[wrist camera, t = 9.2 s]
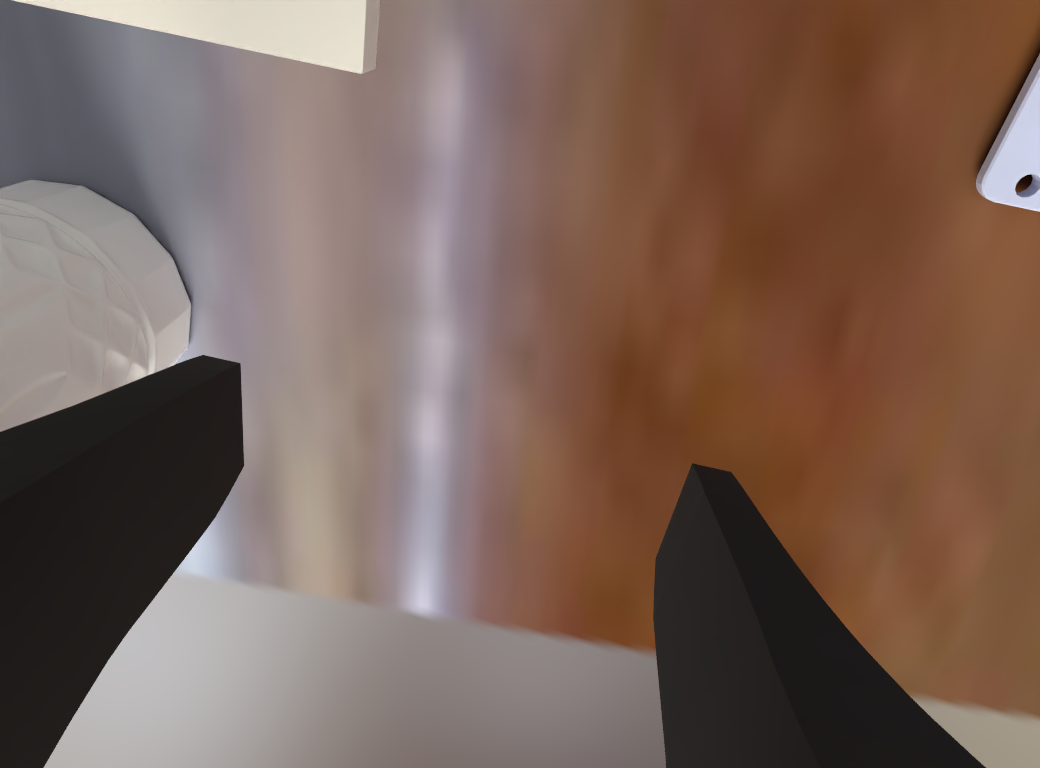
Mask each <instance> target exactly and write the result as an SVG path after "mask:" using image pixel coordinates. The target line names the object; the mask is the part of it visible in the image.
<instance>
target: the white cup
mask: <svg viewBox="0 0 1040 768" xmlns="http://www.w3.org/2000/svg"><path fill="white" fill-rule="evenodd" d="M190 318H191V303H190V300H189V298H188V295H187V292H186V290H185V287H184V285H183V282H182V280H181V277H180V275H179V272H178V270H177V267H176V265H175V262H174V260H173V258H172V256H171V255H170V254H169V253H168V252H167V251H166V250H165V248H164V247H163V246H162V245H161V244H160V243H159V242H158V241H157V240H156V238H155V237H154V236H153V235H152V234H151V233H150V232H149V231H148V229H147V228H146V227H145V226H144V225H143V224H142V223H141V222H140V220H139V219H138V218H137V217H136V216H135V215H134V214H132V213H131V212H129V211H127V210H125V209H123V208H122V207H120V206H118V205H116V204H114V203H113V202H111V201H109V200H107V199H106V198H104V197H102V196H100V195H98V194H97V193H95V192H93V191H91V190H90V189H88V188H86V187H84V186H80V185H71V184H63V183H55V182H47V181H39V180H27V181H24V182H20V183H17V184H13V185H10V186H6V187H3V188H0V432H1V431H4V430H7V429H9V428H12V427H15V426H18V425H21V424H23V423H26V422H29V421H32V420H34V419H37V418H40V417H43V416H46V415H48V414H51V413H54V412H57V411H59V410H62V409H65V408H68V407H71V406H73V405H76V404H78V403H81V402H83V401H86V400H88V399H91V398H93V397H96V396H98V395H101V394H103V393H106V392H108V391H111V390H113V389H116V388H118V387H121V386H123V385H126V384H128V383H131V382H133V381H136V380H138V379H141V378H143V377H145V376H148V375H150V374H153V373H155V372H158V371H160V370H163V369H165V368H168V367H170V366H173V365H175V364H176V363H177V361H178V360H179V359H180V357H181V356H182V355H183V354H184V352H185V351H186V350H187V348H188V346H189V332H190Z"/></svg>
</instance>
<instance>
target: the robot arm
mask: <svg viewBox="0 0 1040 768" xmlns="http://www.w3.org/2000/svg"><path fill="white" fill-rule="evenodd" d="M1031 174H1032V177H1033V179H1032V183H1031V185H1030V186H1029V187H1028V188H1027V189H1026V190H1024V191H1022V192H1020V193H1016V191H1015V187H1016V183H1017V182H1018V181H1019V180H1020V179H1021V178H1022V177H1024V176H1026V175H1031ZM976 186H977V190H978V191H979V193H980V194H981V195H982V196H983V197H985V198H987V199H989V200H991V201H993V202H997V203H1001V204H1006V205H1011V206H1015V207H1020V208H1025V209H1030V210H1034V211H1039V212H1040V54H1039V56H1038V58H1037V60H1036V62H1035V64H1034V66H1033V68H1032V70H1031V71H1030V73H1029V75H1028V77H1027V79H1026V81H1025V83H1024V85H1023V87H1022V89H1021V91H1020V93H1019V95H1018V97H1017V99H1016V101H1015V103H1014V105H1013V107H1012V109H1011V111H1010V112H1009V114H1008V116H1007V118H1006V120H1005V122H1004V124H1003V126H1002V128H1001V130H1000V132H999V134H998V136H997V138H996V140H995V142H994V144H993V146H992V148H991V150H990V152H989V153H988V155H987V157H986V159H985V161H984V163H983V165H982V167H981V169H980V171H979V173H978V176H977V180H976ZM243 467H244V453H243V424H242V395H241V366H240V363H236V362H232V361H227V360H223V359H218V358H214V357H209V356H205V355H202V356H199V357H196V358H192V359H189V360H186V361H184V362H181V363H178V364H176V365H173V366H170V367H168V368H165V369H163V370H160V371H158V372H155V373H153V374H150V375H148V376H145V377H143V378H141V379H138V380H136V381H133V382H131V383H128V384H126V385H123V386H121V387H118V388H116V389H113V390H111V391H108V392H106V393H103V394H101V395H98V396H96V397H93V398H91V399H88V400H86V401H83V402H81V403H78V404H76V405H73V406H71V407H68V408H65V409H62V410H59V411H57V412H54V413H51V414H48V415H46V416H43V417H40V418H37V419H34V420H32V421H29V422H26V423H23V424H21V425H18V426H15V427H12V428H9V429H7V430H4V431H1V432H0V768H43V767H44V766H45V764H46V762H47V761H48V759H49V757H50V755H51V754H52V752H53V750H54V749H55V747H56V745H57V743H58V742H59V740H60V738H61V737H62V735H63V733H64V731H65V730H66V728H67V726H68V725H69V723H70V721H71V720H72V718H73V716H74V714H75V713H76V711H77V710H78V708H79V706H80V705H81V703H82V702H83V700H84V698H85V697H86V695H87V694H88V692H89V690H90V689H91V687H92V686H93V684H94V682H95V681H96V679H97V677H98V676H99V674H100V672H101V671H102V669H103V668H104V666H105V664H106V663H107V661H108V659H109V658H110V657H111V655H112V654H113V653H114V651H115V650H116V648H117V647H118V645H119V644H120V643H121V641H122V639H123V638H124V637H125V636H126V634H127V633H128V631H129V630H130V629H131V627H132V626H133V625H134V623H135V622H136V621H137V620H138V618H139V617H140V616H141V614H142V613H143V612H144V611H145V609H146V608H147V607H148V605H149V604H150V603H151V601H152V600H153V599H154V598H155V596H156V595H157V594H158V592H159V591H160V590H161V588H162V587H163V586H164V584H165V583H166V582H167V581H168V579H169V578H170V577H171V575H172V574H173V573H174V571H175V570H176V569H177V568H178V566H179V565H180V564H181V562H182V561H183V560H184V558H185V557H186V556H187V555H188V553H189V552H190V551H191V549H192V548H193V547H194V545H195V544H196V543H197V541H198V540H199V539H200V537H201V536H202V535H203V533H204V532H205V531H206V529H207V528H208V527H209V525H210V524H211V522H212V521H213V520H214V518H215V517H216V515H217V513H218V512H219V510H220V508H221V506H222V505H223V503H224V501H225V500H226V498H227V496H228V495H229V493H230V491H231V489H232V487H233V485H234V483H235V482H236V480H237V478H238V476H239V474H240V472H241V470H242V469H243ZM653 618H654V631H655V643H656V655H657V667H658V677H659V689H660V699H661V711H662V722H663V731H664V732H663V733H664V743H665V755H666V768H986V767H984V766H983V765H982V764H981V763H980V762H979V761H978V760H976V759H975V758H974V757H973V756H972V755H971V754H970V753H969V752H968V751H967V750H966V749H965V748H964V747H962V746H961V745H960V744H959V743H958V742H957V741H956V740H955V739H954V738H953V737H952V736H951V735H950V734H948V733H947V732H946V731H945V730H944V729H943V728H942V727H941V726H940V725H939V724H938V723H937V722H935V721H934V720H933V719H932V718H931V717H930V716H929V715H928V714H927V713H926V712H925V711H924V710H923V709H922V708H921V707H920V706H919V705H918V704H917V703H916V702H915V701H914V700H913V699H912V698H911V697H910V696H909V695H908V694H907V693H906V692H905V691H904V690H903V689H902V688H901V687H900V686H899V685H898V684H897V683H896V681H895V680H894V679H893V678H892V677H891V676H890V675H889V674H888V673H887V672H886V671H885V670H884V669H883V668H882V667H881V666H880V665H879V664H878V662H877V661H876V660H875V659H874V658H873V657H872V656H871V655H870V654H869V653H868V652H867V651H866V650H865V648H864V647H863V646H862V645H861V644H860V643H859V642H858V641H857V639H856V638H855V637H854V636H853V635H852V634H851V633H850V631H849V630H848V629H847V628H846V627H845V625H844V624H843V623H842V622H841V621H840V619H839V618H838V617H837V616H836V614H835V613H834V612H833V611H832V610H831V608H830V607H829V606H828V605H827V604H826V602H825V601H824V600H823V599H822V597H821V596H820V595H819V594H818V592H817V591H816V590H815V588H814V587H813V586H812V585H811V583H810V582H809V581H808V579H807V578H806V577H805V576H804V574H803V573H802V572H801V570H800V569H799V568H798V566H797V565H796V564H795V562H794V561H793V559H792V558H791V557H790V555H789V554H788V553H787V551H786V550H785V548H784V547H783V546H782V544H781V543H780V541H779V540H778V539H777V537H776V536H775V534H774V533H773V531H772V530H771V529H770V527H769V526H768V524H767V523H766V521H765V520H764V518H763V517H762V516H761V514H760V513H759V511H758V510H757V508H756V507H755V505H754V504H753V502H752V501H751V500H750V498H749V497H748V495H747V494H746V492H745V491H744V489H743V488H742V486H741V485H740V484H739V482H738V481H737V479H736V478H735V477H734V475H733V474H732V473H731V472H728V471H724V470H719V469H715V468H710V467H706V466H701V465H697V464H692V465H691V468H690V471H689V473H688V476H687V479H686V481H685V484H684V486H683V489H682V492H681V494H680V497H679V499H678V502H677V505H676V507H675V510H674V512H673V515H672V518H671V520H670V523H669V525H668V528H667V531H666V533H665V536H664V538H663V541H662V544H661V546H660V549H659V551H658V554H657V557H656V565H655V585H654V614H653Z"/></svg>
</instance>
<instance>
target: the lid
mask: <svg viewBox="0 0 1040 768" xmlns="http://www.w3.org/2000/svg"><path fill="white" fill-rule="evenodd" d="M13 1H18V2H23V3H27V4H32V5H37V6H42V7H46V8H51V9H56V10H61V11H65V12H70V13H75V14H80V15H84V16H89V17H94V18H99V19H103V20H108V21H113V22H118V23H122V24H127V25H132V26H137V27H141V28H146V29H151V30H156V31H160V32H165V33H170V34H175V35H179V36H184V37H189V38H194V39H198V40H203V41H208V42H213V43H217V44H222V45H227V46H232V47H236V48H241V49H246V50H251V51H255V52H260V53H265V54H270V55H274V56H279V57H284V58H289V59H293V60H298V61H303V62H308V63H312V64H317V65H322V66H327V67H331V68H336V69H341V70H346V71H350V72H355V73H360V74H364V73H366V72H369V71H371V70H374V69H376V56H377V40H378V24H379V8H380V0H13Z"/></svg>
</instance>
